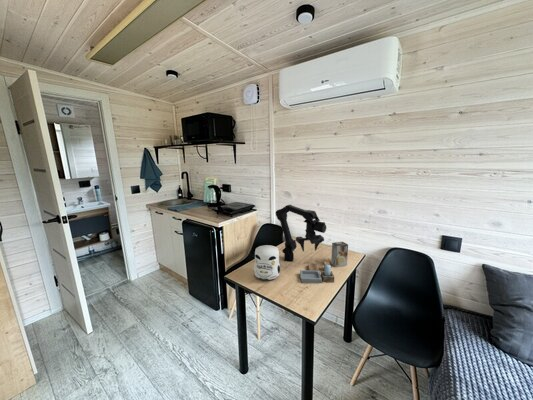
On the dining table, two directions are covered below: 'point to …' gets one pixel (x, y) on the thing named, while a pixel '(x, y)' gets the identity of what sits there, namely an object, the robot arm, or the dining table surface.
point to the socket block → (327, 277)
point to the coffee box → (339, 254)
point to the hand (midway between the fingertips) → (309, 250)
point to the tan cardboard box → (313, 266)
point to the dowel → (327, 270)
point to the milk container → (267, 262)
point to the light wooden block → (326, 264)
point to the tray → (310, 276)
